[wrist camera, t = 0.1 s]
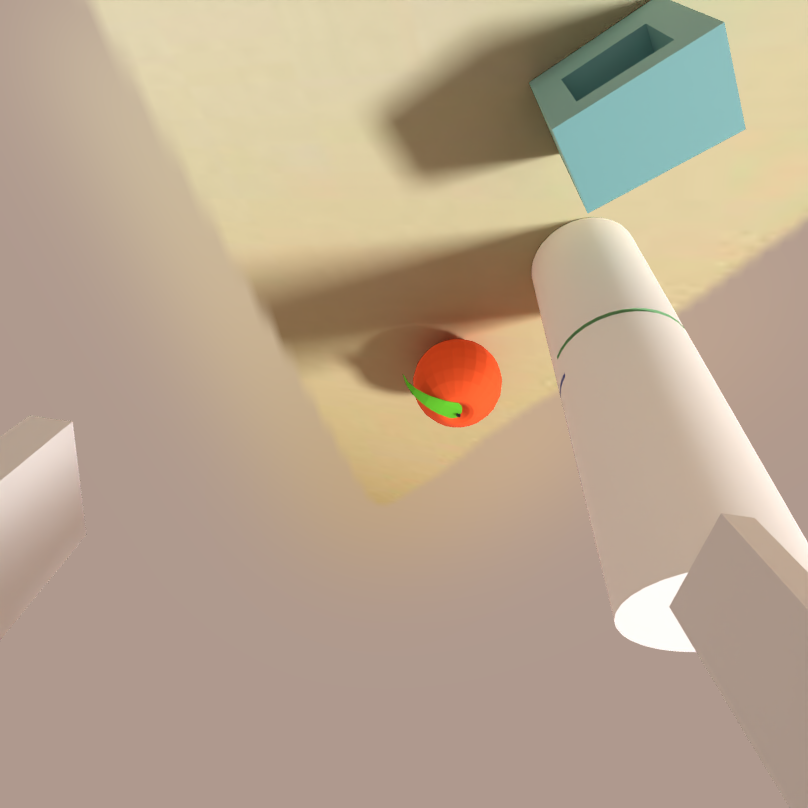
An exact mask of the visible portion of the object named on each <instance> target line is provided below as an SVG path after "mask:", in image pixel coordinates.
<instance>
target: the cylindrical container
mask: <svg viewBox="0 0 808 808" xmlns="http://www.w3.org/2000/svg"><path fill="white" fill-rule="evenodd" d="M532 280H533V285H534V289H535V293H536V297H537V301H538V306H539V310H540V314H541V318H542V323H543V327H544V331H545V335H546V339H547V343H548V348H549V352H550V356H551V360H552V364H553V368H554V372H555V376H556V380H557V384H558V389H559V393H560V397H561V401H562V405H563V409H564V414H565V418H566V422H567V426H568V430H569V434H570V439H571V443H572V447H573V452H574V456H575V460H576V464H577V468H578V473H579V477H580V481H581V485H582V489H583V493H584V498H585V501H586V506H587V510H588V514H589V518H590V523H591V527H592V531H593V534H594V539H595V543H596V547H597V551H598V556H599V560H600V563H601V567H602V572H603V576H604V580H605V584H606V588H607V592H608V597H609V601H610V605H611V609H612V613H613V617H614V621H615V625H616V628H617V629H618V630H619V632H620V633H621V634H622V635H623V636H625V637H626V638H628V639H629V640H631V641H633V642H636V643H638V644H641V645H644V646H648V647H652V648H656V649H663V650H670V651H682V652H684V651H685V652H696V651H695V649H694V647H693V646H692V644H691V642H690V641H689V639H688V637H687V636H686V634H685V632H684V631H683V629H682V627H681V626H680V624H679V622H678V621H677V619H676V617H675V616H674V614H673V612H672V611H671V609H670V607H669V606H670V604H671V602H672V601H673V599H674V597H675V595H676V593H677V592H678V590H679V588H680V586H681V584H682V583H683V581H684V579H685V577H686V575H687V574H688V572H689V570H690V568H691V566H692V564H693V563H694V561H695V559H696V557H697V555H698V554H699V552H700V550H701V548H702V546H703V545H704V543H705V541H706V539H707V537H708V536H709V534H710V532H711V530H712V528H713V527H714V525H715V523H716V521H717V519H718V518H719V516H720V514H721V513H724V514H731V515H738V516H745V517H752V518H755V519H756V520H757V521H758V522H759V523H760V524H761V525H762V526H763V527H764V528H765V529H766V530H767V531H768V532H769V533H770V534H771V535H772V536H773V537H774V538H775V539H776V540H777V541H778V542H779V543H780V544H781V545H782V546H783V547H784V548H785V549H786V550H787V551H788V552H789V553H790V554H791V556H792V557H793V558H794V559H795V560H796V561H797V562H798V563H799V564H800V565H801V566H802V567H803V568H804V569H805V570H806V571H807V572H808V543H807V541H806V539H805V537H804V535H803V534H802V532H801V531H800V528H799V527H798V525H797V523H796V522H795V520H794V518H793V516H792V515H791V513H790V511H789V510H788V508H787V506H786V504H785V502H784V501H783V499H782V498H781V495H780V494H779V492H778V490H777V488H776V487H775V485H774V483H773V481H772V480H771V478H770V476H769V475H768V473H767V471H766V470H765V468H764V466H763V464H762V462H761V461H760V459H759V457H758V456H757V454H756V452H755V450H754V448H753V447H752V445H751V443H750V441H749V440H748V438H747V436H746V434H745V433H744V431H743V429H742V428H741V426H740V424H739V422H738V421H737V419H736V417H735V415H734V414H733V412H732V410H731V408H730V407H729V405H728V403H727V401H726V400H725V398H724V396H723V394H722V393H721V391H720V389H719V388H718V386H717V384H716V382H715V381H714V379H713V377H712V376H711V374H710V372H709V370H708V368H707V367H706V365H705V363H704V361H703V360H702V358H701V356H700V354H699V353H698V351H697V349H696V347H695V346H694V344H693V342H692V341H691V339H690V337H689V335H688V334H687V332H686V330H685V329H684V327H683V325H682V323H681V321H680V320H679V318H678V316H677V314H676V313H675V311H674V309H673V307H672V306H671V304H670V302H669V300H668V299H667V297H666V295H665V294H664V292H663V290H662V288H661V287H660V285H659V283H658V281H657V280H656V278H655V276H654V274H653V273H652V271H651V269H650V267H649V266H648V264H647V262H646V260H645V259H644V257H643V255H642V253H641V252H640V250H639V248H638V246H637V245H636V243H635V241H634V239H633V238H632V236H631V235H630V233H629V232H628V231H627V230H626V229H625V228H624V227H623V226H622V225H620V224H619V223H617V222H614V221H612V220H609V219H605V218H596V217H590V218H583V219H579V220H576V221H572V222H570V223H568V224H566V225H564V226H562V227H560V228H558V229H557V230H556V231H554V232H553V233H552V234H550V235H549V236H548V238H547V239H546V240H545V241H544V242H543V243H542V244H541V246H540V247H539V249H538V251H537V252H536V255H535V257H534V260H533V264H532Z"/></svg>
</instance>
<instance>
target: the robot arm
mask: <svg viewBox="0 0 808 808" xmlns="http://www.w3.org/2000/svg"><path fill="white" fill-rule="evenodd" d="M85 536H86V527H85V519H84V511H83V503H82V494H81V486H80V478H79V470H78V462H77V454H76V446H75V438H74V429H73V422H72V421H66V420H58V419H52V418H45V417H38V416H31V415H30V416H28V417H27V418H26V419H24V420H23V421H21V422H20V423H19V424H17V425H16V426H14V427H13V428H12V429H10V430H9V431H7V432H6V433H5V434H3V435H2V436H0V640H1V639H2V638H3V636H4V635H5V634H6V633H7V631H8V630H9V629H10V628H11V626H12V625H13V624H14V623H15V622H16V620H17V619H18V618H19V617H20V616H21V614H22V613H23V612H24V611H25V609H26V608H27V607H28V606H29V604H30V603H31V602H32V601H33V600H34V598H35V597H36V596H37V595H38V593H39V592H40V591H41V590H42V588H43V587H44V586H45V585H46V584H47V582H48V581H49V580H50V579H51V578H52V576H53V575H54V574H55V573H56V571H57V570H58V569H59V568H60V567H61V565H62V564H63V563H64V562H65V560H66V559H67V558H68V557H69V555H70V554H71V553H72V552H73V551H74V549H75V548H76V547H77V546H78V544H79V543H80V542H81V541H82V540H83V538H84V537H85ZM669 607H670V609H671V611H672V612H673V614H674V616H675V617H676V619H677V621H678V622H679V624H680V626H681V627H682V629H683V631H684V632H685V634H686V636H687V637H688V639H689V641H690V642H691V644H692V646H693V647H694V649H695V651H696V652H697V654H698V656H699V657H700V659H701V661H702V662H703V664H704V666H705V667H706V669H707V671H708V672H709V674H710V676H711V677H712V679H713V681H714V682H715V684H716V686H717V687H718V689H719V691H720V692H721V694H722V696H723V697H724V699H725V701H726V703H727V704H728V706H729V708H730V709H731V711H732V713H733V714H734V716H735V717H736V719H737V721H738V723H739V724H740V726H741V728H742V729H743V731H744V733H745V734H746V736H747V738H748V739H749V741H750V743H751V744H752V746H753V748H754V749H755V751H756V753H757V754H758V756H759V758H760V759H761V761H762V763H763V764H764V766H765V768H766V769H767V771H768V773H769V774H770V776H771V778H772V779H773V781H774V783H775V784H776V786H777V788H778V789H779V791H780V793H781V794H782V796H783V798H784V799H785V801H786V803H787V804H788V806H789V808H808V572H807V571H806V570H805V569H804V568H803V567H802V566H801V565H800V564H799V563H798V562H797V561H796V560H795V559H794V558H793V557H792V556H791V554H790V553H789V552H788V551H787V550H786V549H785V548H784V547H783V546H782V545H781V544H780V543H779V542H778V541H777V540H776V539H775V538H774V537H773V536H772V535H771V534H770V533H769V532H768V531H767V530H766V529H765V528H764V527H763V526H762V525H761V524H760V523H759V522H758V521H757V520H756V519H755V518H752V517H745V516H738V515H731V514H724V513H721V514H720V516H719V518H718V519H717V521H716V523H715V525H714V527H713V528H712V530H711V532H710V534H709V536H708V537H707V539H706V541H705V543H704V545H703V546H702V548H701V550H700V552H699V554H698V555H697V557H696V559H695V561H694V563H693V564H692V566H691V568H690V570H689V572H688V574H687V575H686V577H685V579H684V581H683V583H682V584H681V586H680V588H679V590H678V592H677V593H676V595H675V597H674V599H673V601H672V602H671V604H670V606H669Z"/></svg>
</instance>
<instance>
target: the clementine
mask: <svg viewBox="0 0 808 808" xmlns="http://www.w3.org/2000/svg"><path fill="white" fill-rule="evenodd" d="M403 377H404V380H405V382H406V385H407V387H408V388H409V390H410V391H411V393H412V394H413V395H414V396H415V397H416V400H417V402H418V404H419V406H420V407H421V409H422V410H423V411H424V413H425V414H426V415H427V416H429V417H430V418H431V419H433V420H434V421H436V422H437V423H440V424H442V425H444V426H449V427H465V426H470V425H473V424H475V423H477V422H479V421H480V420H482V419H483V418H485V417H486V416H488V414H489V413H490V412H491V411H492V410H493V409H494V407H495V405H496V403H497V401H498V399H499V397H500V393H501V384H502V377H501V373H500V369H499V367H498V364H497V362H496V360H495V359H494V357H493V356H492V355H491V354H490V353H489V352H488V351H487V350H486V349H485V348H484V347H483V346H481V345H479V344H477V343H475V342H473V341H469V340H464V339H451V340H447V341H443V342H440V343H438V344H436V345H434V346H433V347H431V348H430V349H429V350H428V351H427V352H426V353H425V354H424V355H423V356H422V358H421V359H420V361H419V362H418V364H417V367H416V370H415V374H414V377H413V386H412V385H411V384H410V383H409V382H408V381H407V379H406V378H405V376H404V375H403Z"/></svg>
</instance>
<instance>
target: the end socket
mask: <svg viewBox="0 0 808 808" xmlns="http://www.w3.org/2000/svg"><path fill="white" fill-rule="evenodd" d="M529 84H530V87H531V89H532V91H533V94H534V96H535V98H536V100H537V103H538V105H539V107H540V110H541V112H542V114H543V117H544V119H545V121H546V124H547V126H548V128H549V130H550V133H551V135H552V137H553V140H554V142H555V144H556V147H557V149H558V151H559V154H560V156H561V158H562V160H563V162H564V164H565V166H566V168H567V170H568V173H569V175H570V177H571V179H572V181H573V183H574V185H575V187H576V189H577V192H578V194H579V196H580V198H581V200H582V202H583V204H584V206H585V208H586V211H587V213H589V212H591V211H593V210H595V209H597V208H599V207H601V206H603V205H604V204H606V203H608V202H610V201H612V200H614V199H616V198H618V197H619V196H621V195H623V194H625V193H627V192H629V191H631V190H633V189H634V188H636V187H638V186H640V185H642V184H644V183H646V182H648V181H649V180H651V179H653V178H655V177H657V176H659V175H661V174H662V173H664V172H666V171H668V170H670V169H672V168H674V167H676V166H677V165H679V164H681V163H683V162H685V161H687V160H689V159H691V158H692V157H694V156H696V155H698V154H700V153H702V152H704V151H706V150H707V149H709V148H711V147H713V146H715V145H717V144H719V143H721V142H722V141H724V140H726V139H728V138H730V137H732V136H734V135H736V134H737V133H739V132H741V131H743V130H745V124H744V119H743V114H742V109H741V104H740V99H739V94H738V89H737V84H736V79H735V74H734V69H733V63H732V58H731V53H730V48H729V43H728V38H727V33H726V28H725V23H724V22H722V21H720V20H717V19H715V18H713V17H710V16H708V15H705V14H703V13H700V12H698V11H695V10H693V9H690V8H688V7H685V6H683V5H681V4H678V3H676V2H673V1H671V0H650V1H649V2H647V3H646V4H644V5H643V6H641V7H640V8H638V9H637V10H636V11H634V12H633V13H631V14H630V15H628V16H627V17H625V18H624V19H622V20H621V21H619V22H618V23H616V24H615V25H613V26H612V27H610V28H609V29H607V30H606V31H604V32H603V33H602V34H600V35H599V36H597V37H596V38H594V39H593V40H591V41H590V42H588V43H587V44H585V45H584V46H582V47H581V48H579V49H578V50H576V51H575V52H573V53H572V54H570V55H569V56H568V57H566V58H565V59H563V60H562V61H560V62H559V63H557V64H556V65H554V66H553V67H551V68H550V69H548V70H547V71H545V72H544V73H542V74H541V75H539V76H538V77H536V78H535V79H534V80H532V81H531V82H529Z"/></svg>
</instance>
